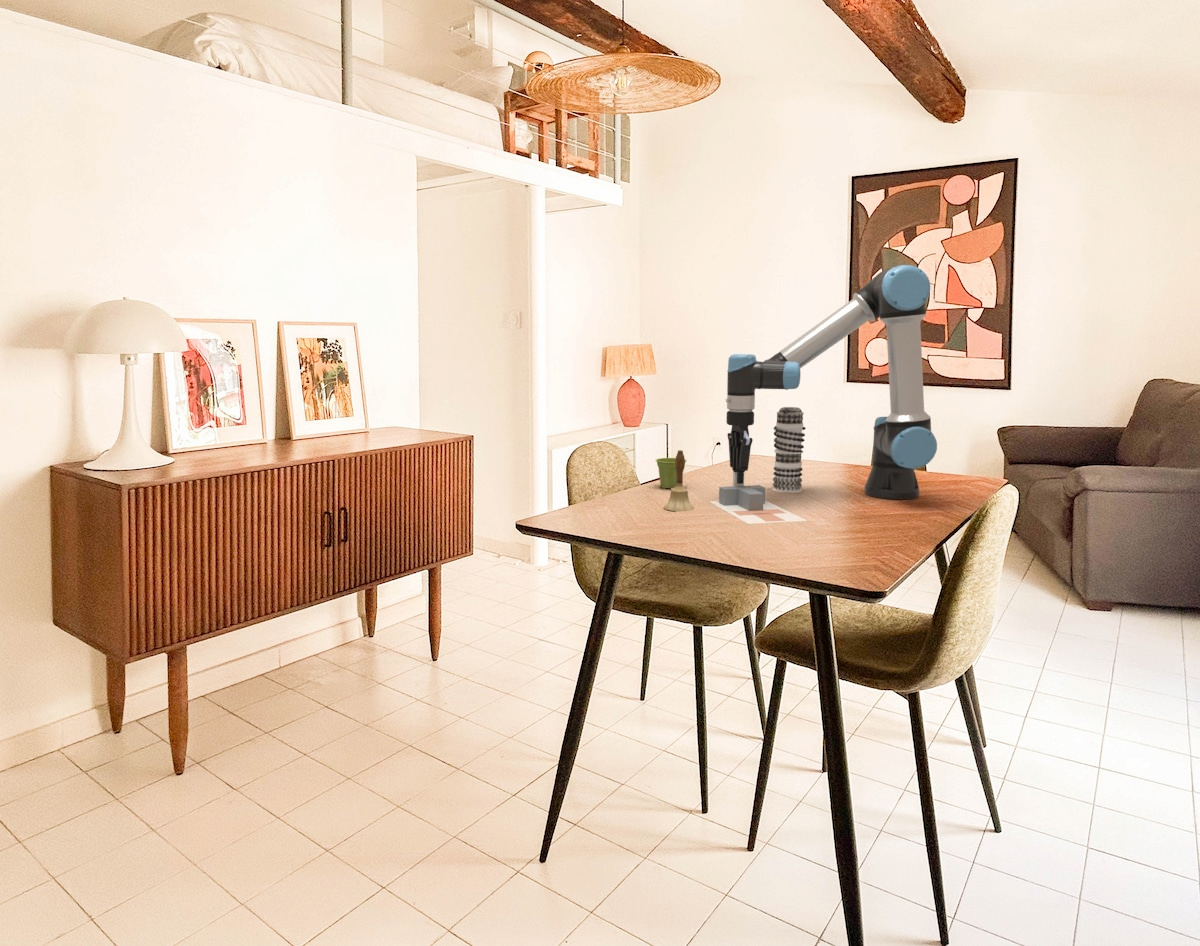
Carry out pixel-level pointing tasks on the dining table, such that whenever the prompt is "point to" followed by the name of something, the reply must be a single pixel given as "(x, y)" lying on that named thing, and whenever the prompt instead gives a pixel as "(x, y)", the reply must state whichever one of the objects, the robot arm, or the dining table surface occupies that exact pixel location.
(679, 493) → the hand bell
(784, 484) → the decorative candle
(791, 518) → the board
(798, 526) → the dining table surface
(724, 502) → the T block
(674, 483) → the plant pot
